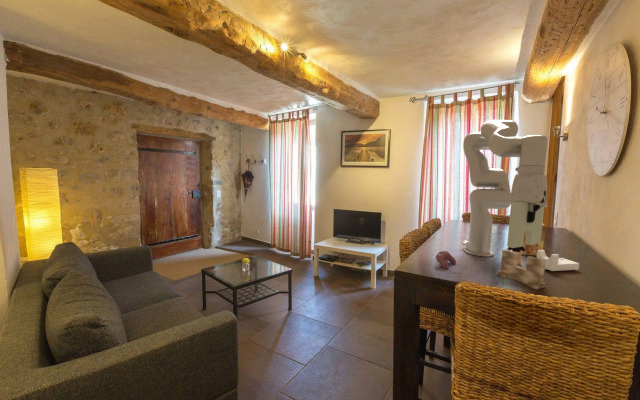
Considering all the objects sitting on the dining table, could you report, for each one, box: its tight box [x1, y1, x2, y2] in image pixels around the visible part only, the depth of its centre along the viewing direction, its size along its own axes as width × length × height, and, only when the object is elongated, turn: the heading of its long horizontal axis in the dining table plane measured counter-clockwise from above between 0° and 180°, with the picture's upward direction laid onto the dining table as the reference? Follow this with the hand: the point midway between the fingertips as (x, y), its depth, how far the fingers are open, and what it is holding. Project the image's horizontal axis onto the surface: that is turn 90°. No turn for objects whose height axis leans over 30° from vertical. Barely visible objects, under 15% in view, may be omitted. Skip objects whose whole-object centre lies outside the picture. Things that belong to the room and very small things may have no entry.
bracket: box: [536, 249, 580, 272], centre depth 120 cm, size 13×7×8 cm, turn 100°
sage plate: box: [506, 202, 545, 248], centre depth 104 cm, size 2×16×16 cm, turn 114°
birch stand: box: [497, 249, 546, 290], centre depth 107 cm, size 14×5×10 cm, turn 24°
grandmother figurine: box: [506, 246, 527, 267], centre depth 124 cm, size 8×4×13 cm, turn 86°
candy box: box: [521, 223, 546, 257], centre depth 139 cm, size 9×4×15 cm, turn 68°
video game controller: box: [435, 250, 457, 270], centre depth 123 cm, size 10×5×7 cm, turn 135°
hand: (526, 221), depth 104 cm, fingers closed on sage plate, 2 cm apart
